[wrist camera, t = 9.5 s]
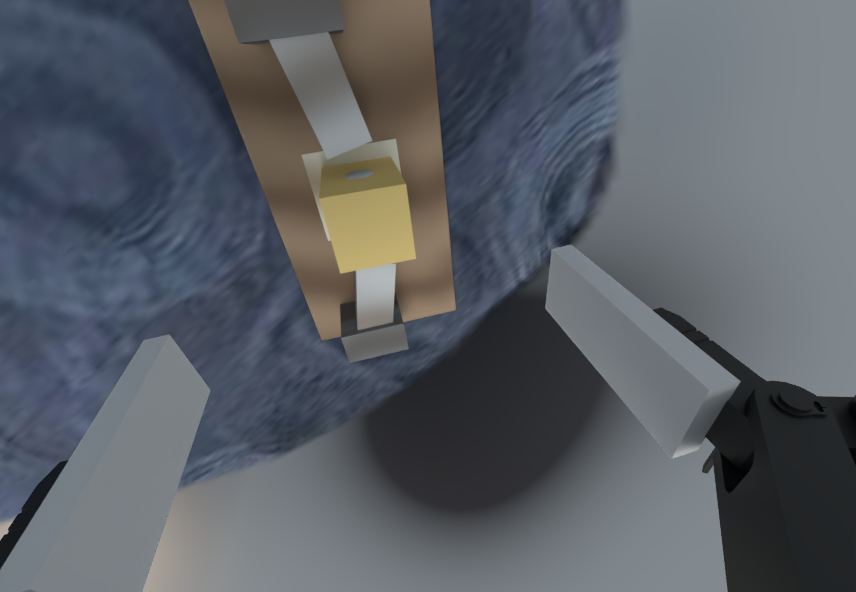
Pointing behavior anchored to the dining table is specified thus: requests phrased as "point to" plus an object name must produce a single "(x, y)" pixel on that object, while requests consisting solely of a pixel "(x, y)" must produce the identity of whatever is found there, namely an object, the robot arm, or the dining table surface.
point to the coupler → (367, 214)
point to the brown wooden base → (340, 144)
